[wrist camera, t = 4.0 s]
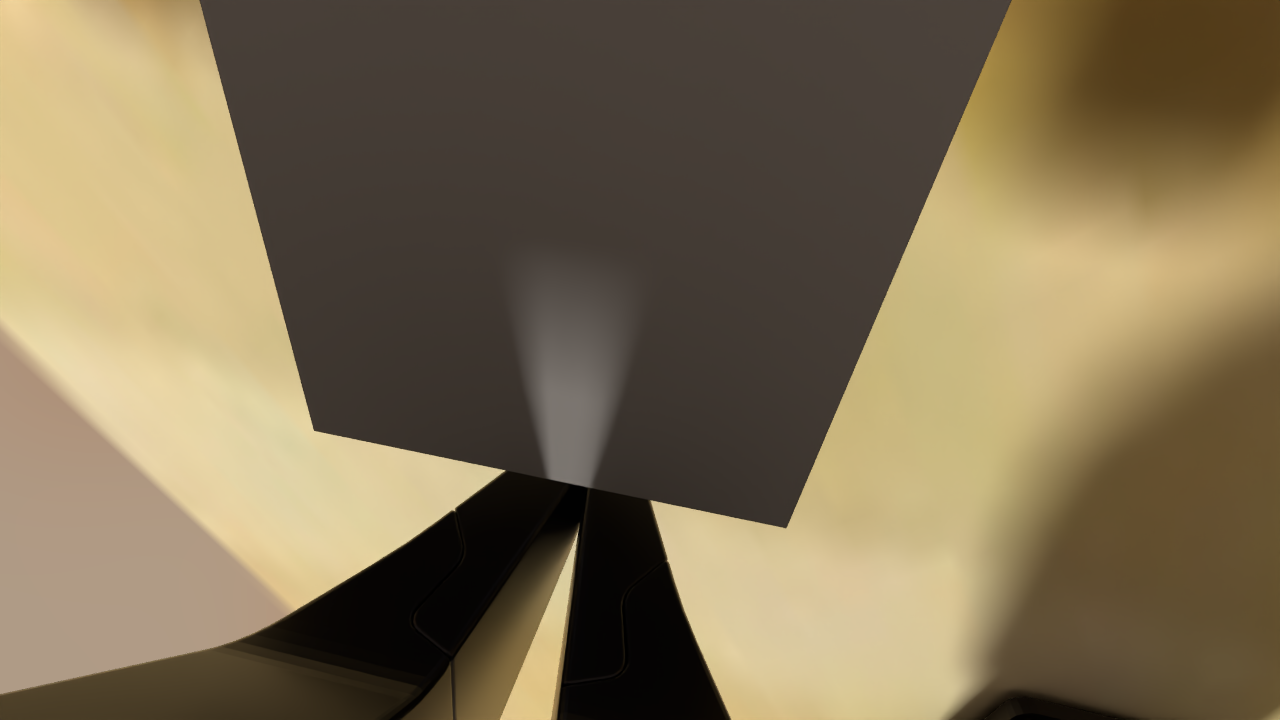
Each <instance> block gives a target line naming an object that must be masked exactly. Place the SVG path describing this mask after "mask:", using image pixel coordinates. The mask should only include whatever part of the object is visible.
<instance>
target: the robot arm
mask: <svg viewBox="0 0 1280 720" xmlns="http://www.w3.org/2000/svg"><path fill="white" fill-rule="evenodd" d="M578 529H579V532H578ZM577 532H578V538H577V544H576V551H575V558H574V565H573V572H572V579H571V586H570V593H569V600H568V606H567V613H566V620H565V627H564V634H563V641H562V648H561V655H560V662H559V669H558V676H557V683H556V690H555V697H554V704H553V711H552V718H551V720H731V718H730V716H729V713H728V711H727V709H726V707H725V704H724V702H723V700H722V698H721V695H720V693H719V691H718V689H717V686H716V684H715V682H714V680H713V677H712V675H711V673H710V670H709V668H708V666H707V664H706V661H705V659H704V657H703V655H702V652H701V650H700V648H699V646H698V643H697V641H696V638H695V636H694V633H693V631H692V628H691V626H690V624H689V621H688V619H687V616H686V614H685V611H684V608H683V605H682V602H681V599H680V596H679V593H678V590H677V587H676V584H675V581H674V578H673V575H672V571H671V568H670V564H669V562H667V555H666V552H665V548H664V545H663V541H662V538H661V535H660V531H659V528H658V524H657V521H656V518H655V514H654V511H653V507H652V504H651V501H650V500H647V499H642V498H638V497H633V496H628V495H623V494H618V493H613V492H608V491H604V490H599V489H594V488H589V487H584V486H579V485H575V484H570V483H565V482H560V481H555V480H550V479H546V478H541V477H536V476H531V475H526V474H521V473H516V472H512V471H507V470H506V471H504V472H503V473H502V474H500V475H499V476H498V477H496V478H495V479H494V480H492V481H491V482H490V483H488V484H487V485H486V486H484V487H483V488H482V489H480V490H479V491H478V492H476V493H475V494H474V495H472V496H471V497H470V498H468V499H467V500H465V501H464V502H463V503H461V504H460V505H459V506H457V507H456V508H455V511H450V512H449V513H448V514H446V515H445V516H444V517H442V518H441V519H440V520H438V521H437V522H436V523H434V524H433V525H431V526H430V527H428V528H427V529H426V530H424V531H423V532H421V533H420V534H419V535H417V536H416V537H414V538H413V539H411V540H410V541H409V542H407V543H406V544H404V545H402V546H401V547H399V548H398V549H396V550H395V551H393V552H391V553H390V554H388V555H387V556H385V557H383V558H382V559H380V560H379V561H377V562H375V563H374V564H372V565H371V566H369V567H367V568H366V569H364V570H362V571H361V572H359V573H357V574H356V575H354V576H352V577H351V578H349V579H347V580H346V581H344V582H342V583H341V584H339V585H337V586H336V587H334V588H332V589H331V590H329V591H327V592H326V593H324V594H322V595H321V596H319V597H317V598H316V599H314V600H312V601H311V602H309V603H307V604H306V605H304V606H302V607H301V608H299V609H297V610H296V611H294V612H292V613H291V614H289V615H287V616H286V617H284V618H282V619H280V620H278V621H277V622H275V623H273V624H271V625H270V626H268V627H265V628H263V629H261V630H259V631H257V632H255V633H253V634H251V635H249V636H246V637H243V638H241V639H239V640H236V641H233V642H230V643H227V644H224V645H221V646H218V647H214V648H210V649H206V650H202V651H197V652H192V653H187V654H183V655H178V656H174V657H169V658H165V659H160V660H155V661H151V662H146V663H142V664H137V665H132V666H128V667H123V668H119V669H114V670H109V671H105V672H101V673H96V674H91V675H86V676H82V677H77V678H73V679H68V680H64V681H59V682H54V683H50V684H45V685H41V686H36V687H31V688H27V689H22V690H18V691H13V692H8V693H4V694H0V720H500V717H501V715H502V713H503V710H504V708H505V706H506V703H507V701H508V698H509V696H510V694H511V691H512V689H513V686H514V684H515V682H516V679H517V677H518V674H519V672H520V670H521V667H522V665H523V663H524V660H525V658H526V655H527V653H528V651H529V648H530V646H531V643H532V641H533V639H534V636H535V634H536V631H537V629H538V627H539V624H540V622H541V619H542V617H543V615H544V612H545V610H546V608H547V605H548V603H549V600H550V598H551V596H552V593H553V591H554V588H555V586H556V584H557V581H558V579H559V576H560V574H561V572H562V569H563V567H564V565H565V562H566V560H567V557H568V555H569V553H570V550H571V548H572V545H573V543H574V540H575V538H576V535H577ZM984 720H1119V719H1115V718H1111V717H1107V716H1103V715H1099V714H1095V713H1091V712H1086V711H1082V710H1078V709H1074V708H1070V707H1066V706H1062V705H1058V704H1054V703H1050V702H1046V701H1042V700H1038V699H1033V698H1027V697H1018V698H1013V699H1009V700H1007V701H1006V702H1004V703H1003V704H1002V705H1000V706H999V707H998V708H997V709H996V710H995V711H993V712H992V713H991V714H990V715H989V716H988V717H986V718H985V719H984Z"/></svg>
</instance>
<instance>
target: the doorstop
mask: <svg viewBox="0 0 1280 720" xmlns="http://www.w3.org/2000/svg"><path fill="white" fill-rule="evenodd" d="M1010 3H1011V0H200V4H201V7H202V11H203V15H204V19H205V22H206V26H207V30H208V34H209V38H210V41H211V45H212V49H213V53H214V56H215V60H216V64H217V68H218V71H219V75H220V79H221V83H222V86H223V90H224V94H225V98H226V101H227V105H228V109H229V113H230V116H231V120H232V124H233V128H234V132H235V135H236V139H237V143H238V147H239V150H240V154H241V158H242V162H243V165H244V169H245V173H246V177H247V180H248V184H249V188H250V192H251V195H252V199H253V203H254V207H255V211H256V214H257V218H258V222H259V226H260V229H261V233H262V237H263V241H264V244H265V248H266V252H267V256H268V259H269V263H270V267H271V271H272V274H273V278H274V282H275V286H276V290H277V293H278V297H279V301H280V305H281V308H282V312H283V316H284V320H285V323H286V327H287V331H288V335H289V338H290V342H291V346H292V350H293V353H294V357H295V361H296V365H297V369H298V372H299V376H300V380H301V384H302V387H303V391H304V395H305V399H306V402H307V406H308V410H309V414H310V417H311V421H312V425H313V429H314V431H318V432H323V433H328V434H332V435H337V436H342V437H347V438H352V439H357V440H361V441H366V442H371V443H376V444H381V445H386V446H391V447H395V448H400V449H405V450H410V451H415V452H420V453H424V454H429V455H434V456H439V457H444V458H449V459H453V460H458V461H463V462H468V463H473V464H478V465H483V466H487V467H492V468H497V469H502V470H507V471H512V472H516V473H521V474H526V475H531V476H536V477H541V478H546V479H550V480H555V481H560V482H565V483H570V484H575V485H579V486H584V487H589V488H594V489H599V490H604V491H608V492H613V493H618V494H623V495H628V496H633V497H638V498H642V499H647V500H652V501H657V502H662V503H667V504H671V505H676V506H681V507H686V508H691V509H696V510H701V511H705V512H710V513H715V514H720V515H725V516H730V517H734V518H739V519H744V520H749V521H754V522H759V523H764V524H768V525H773V526H778V527H783V528H787V526H788V523H789V521H790V519H791V516H792V514H793V511H794V509H795V507H796V504H797V502H798V500H799V497H800V495H801V493H802V490H803V488H804V486H805V483H806V481H807V479H808V476H809V474H810V472H811V469H812V467H813V465H814V462H815V460H816V458H817V455H818V453H819V451H820V448H821V446H822V444H823V441H824V439H825V436H826V434H827V432H828V429H829V427H830V425H831V422H832V420H833V418H834V415H835V413H836V411H837V408H838V406H839V404H840V401H841V399H842V397H843V394H844V392H845V390H846V387H847V385H848V383H849V380H850V378H851V376H852V373H853V371H854V368H855V366H856V364H857V361H858V359H859V357H860V354H861V352H862V350H863V347H864V345H865V343H866V340H867V338H868V336H869V333H870V331H871V329H872V326H873V324H874V322H875V319H876V317H877V315H878V312H879V310H880V308H881V305H882V303H883V300H884V298H885V296H886V293H887V291H888V289H889V286H890V284H891V282H892V279H893V277H894V275H895V272H896V270H897V268H898V265H899V263H900V261H901V258H902V256H903V254H904V251H905V249H906V247H907V244H908V242H909V240H910V237H911V235H912V233H913V230H914V228H915V225H916V223H917V221H918V218H919V216H920V214H921V211H922V209H923V207H924V204H925V202H926V200H927V197H928V195H929V193H930V190H931V188H932V186H933V183H934V181H935V179H936V176H937V174H938V172H939V169H940V167H941V165H942V162H943V160H944V157H945V155H946V153H947V150H948V148H949V146H950V143H951V141H952V139H953V136H954V134H955V132H956V129H957V127H958V125H959V122H960V120H961V118H962V115H963V113H964V111H965V108H966V106H967V104H968V101H969V99H970V97H971V94H972V92H973V89H974V87H975V85H976V82H977V80H978V78H979V75H980V73H981V71H982V68H983V66H984V64H985V61H986V59H987V57H988V54H989V52H990V50H991V47H992V45H993V43H994V40H995V38H996V36H997V33H998V31H999V29H1000V26H1001V24H1002V22H1003V19H1004V17H1005V14H1006V12H1007V10H1008V7H1009V5H1010Z"/></svg>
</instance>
